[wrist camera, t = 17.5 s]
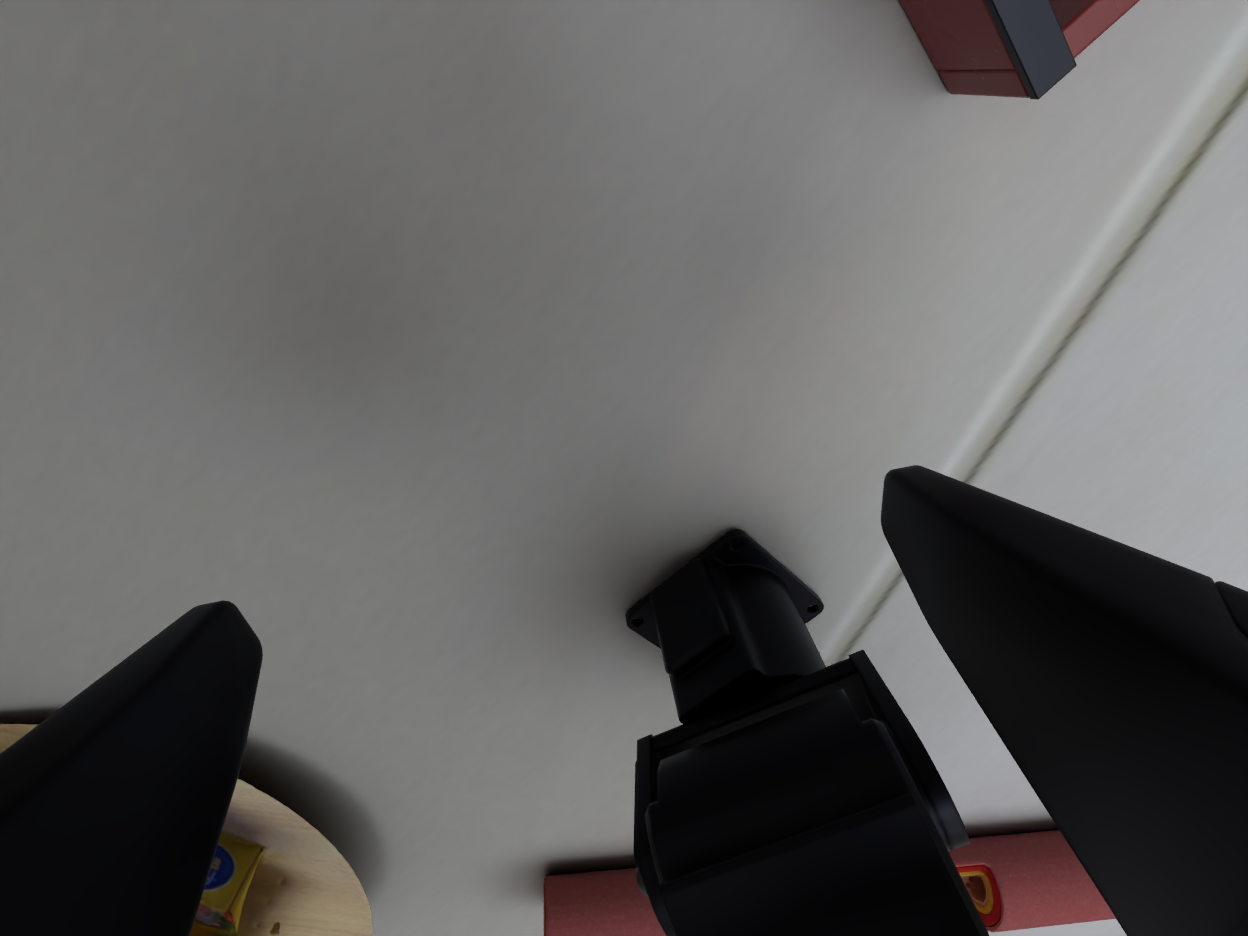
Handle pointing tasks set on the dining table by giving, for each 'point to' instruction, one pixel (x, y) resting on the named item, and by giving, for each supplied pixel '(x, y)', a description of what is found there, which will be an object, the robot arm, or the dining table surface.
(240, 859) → the yellow tiered stack
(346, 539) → the dining table surface
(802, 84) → the dining table surface
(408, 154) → the dining table surface
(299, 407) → the dining table surface
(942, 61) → the red hollow rectangular frame
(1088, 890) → the blood vessel
